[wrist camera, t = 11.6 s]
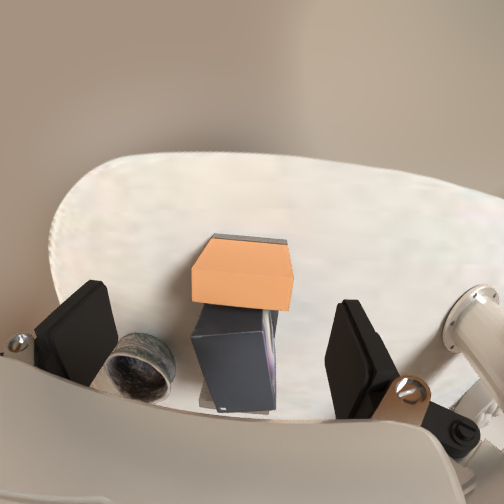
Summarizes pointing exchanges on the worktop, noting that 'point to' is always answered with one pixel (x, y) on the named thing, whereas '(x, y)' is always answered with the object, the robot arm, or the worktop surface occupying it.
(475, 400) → the beige piece
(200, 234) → the worktop surface
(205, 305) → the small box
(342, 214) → the worktop surface
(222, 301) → the vise slide jaw
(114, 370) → the mug
